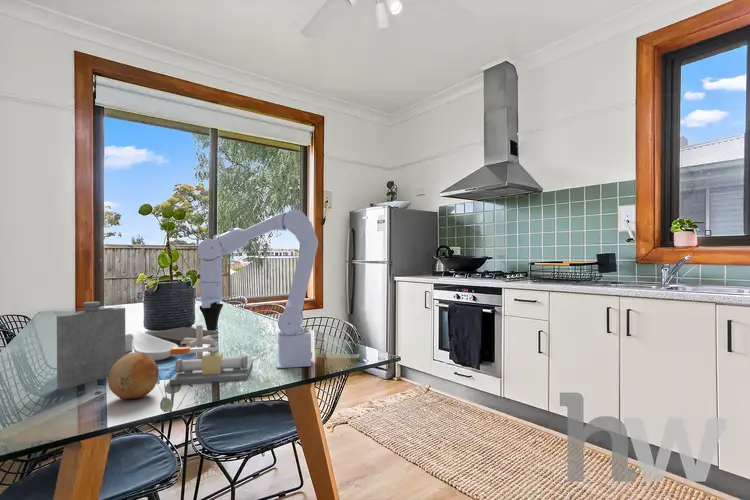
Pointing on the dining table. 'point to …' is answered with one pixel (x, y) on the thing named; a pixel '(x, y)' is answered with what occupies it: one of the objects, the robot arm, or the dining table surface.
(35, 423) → the dining table surface
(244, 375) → the board
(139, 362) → the onion
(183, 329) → the hardcover book
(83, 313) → the hip flask
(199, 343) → the pipe connector
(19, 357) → the dining table surface
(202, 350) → the valve lever
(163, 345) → the spoon rest
